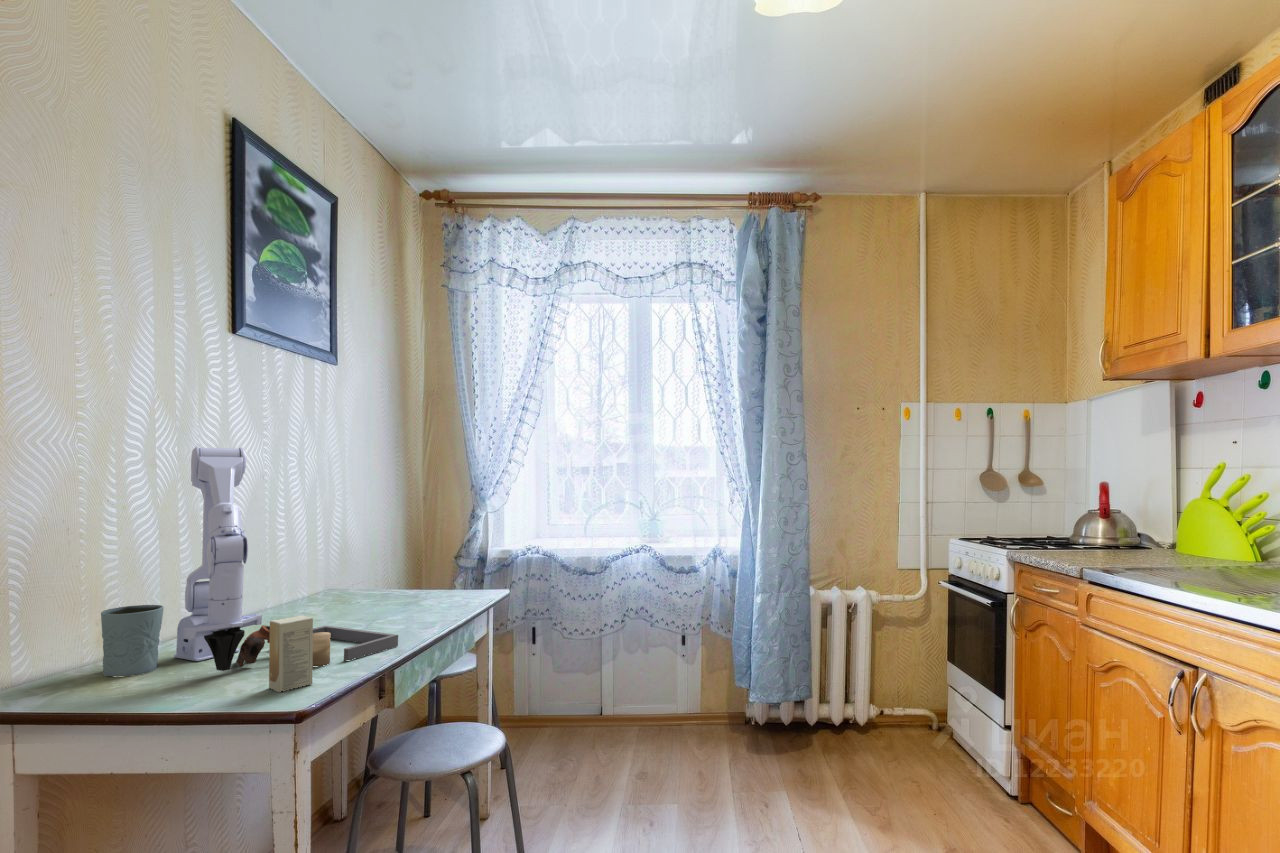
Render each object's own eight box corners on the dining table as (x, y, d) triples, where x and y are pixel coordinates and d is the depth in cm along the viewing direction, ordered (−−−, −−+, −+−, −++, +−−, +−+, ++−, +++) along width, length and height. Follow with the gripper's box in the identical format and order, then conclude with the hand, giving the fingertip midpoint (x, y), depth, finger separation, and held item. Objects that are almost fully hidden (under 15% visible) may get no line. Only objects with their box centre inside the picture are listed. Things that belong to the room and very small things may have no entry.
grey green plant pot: (111, 681, 133) (114, 616, 133) (88, 672, 138) (91, 610, 139) (170, 668, 141) (173, 607, 142) (147, 661, 147) (149, 602, 147)
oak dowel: (317, 668, 142) (318, 637, 142) (303, 665, 144) (304, 635, 144) (334, 663, 146) (335, 633, 146) (320, 661, 147) (320, 631, 148)
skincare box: (301, 680, 134) (304, 614, 134) (313, 685, 131) (315, 617, 132) (266, 688, 129) (268, 619, 129) (277, 693, 126) (279, 623, 127)
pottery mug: (245, 658, 151) (269, 622, 153) (283, 680, 150) (306, 643, 152) (215, 658, 139) (241, 619, 142) (255, 681, 138) (281, 642, 141)
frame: (348, 661, 147) (348, 649, 147) (272, 649, 156) (272, 638, 156) (397, 646, 160) (398, 634, 160) (325, 636, 169) (325, 625, 169)
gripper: (202, 606, 130) (199, 682, 129) (273, 593, 143) (270, 662, 142) (178, 602, 133) (174, 677, 132) (249, 591, 146) (246, 658, 145)
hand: (223, 669), depth 137 cm, fingers closed
